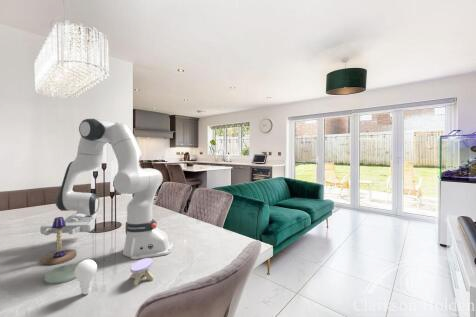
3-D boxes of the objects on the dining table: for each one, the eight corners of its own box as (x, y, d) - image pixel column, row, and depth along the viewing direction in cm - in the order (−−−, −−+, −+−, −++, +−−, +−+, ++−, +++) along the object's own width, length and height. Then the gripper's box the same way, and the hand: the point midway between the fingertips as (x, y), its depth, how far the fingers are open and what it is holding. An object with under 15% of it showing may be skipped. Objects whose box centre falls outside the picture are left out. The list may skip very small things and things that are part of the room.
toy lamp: (49, 257, 95) (49, 218, 94) (61, 252, 99) (60, 215, 99) (57, 258, 93) (57, 219, 93) (69, 254, 98) (68, 216, 97)
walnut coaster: (81, 251, 103) (81, 249, 103) (67, 263, 92) (67, 261, 92) (52, 253, 101) (52, 250, 101) (33, 266, 89) (33, 263, 89)
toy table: (141, 289, 75) (141, 272, 75) (121, 283, 78) (121, 267, 78) (160, 274, 85) (160, 260, 84) (142, 270, 88) (142, 255, 88)
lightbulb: (77, 302, 68) (77, 267, 68) (72, 294, 72) (72, 260, 72) (99, 293, 72) (99, 260, 72) (93, 286, 77) (94, 254, 76)
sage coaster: (90, 265, 91) (90, 262, 91) (74, 282, 79) (75, 278, 79) (57, 268, 88) (57, 265, 88) (36, 285, 76) (36, 281, 76)
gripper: (51, 217, 107) (30, 226, 93) (98, 216, 111) (84, 224, 97) (51, 230, 107) (30, 241, 93) (97, 228, 111) (84, 238, 97)
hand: (58, 232), depth 95 cm, fingers open, 8 cm apart
